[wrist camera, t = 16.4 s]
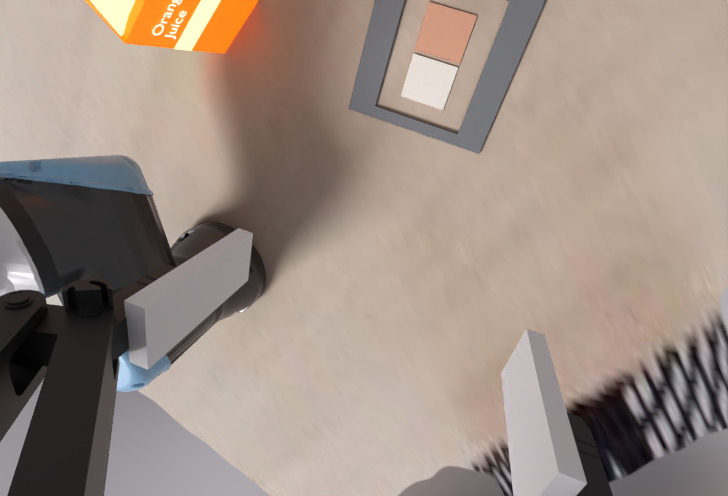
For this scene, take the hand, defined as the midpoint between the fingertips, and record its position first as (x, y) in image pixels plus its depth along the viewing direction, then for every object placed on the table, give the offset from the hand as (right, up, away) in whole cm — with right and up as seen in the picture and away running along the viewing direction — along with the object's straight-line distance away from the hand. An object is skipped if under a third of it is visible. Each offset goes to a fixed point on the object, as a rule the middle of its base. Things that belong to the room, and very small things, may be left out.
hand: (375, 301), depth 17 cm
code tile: (+7, +23, +22) cm, 32 cm away
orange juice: (-18, +32, +26) cm, 45 cm away
